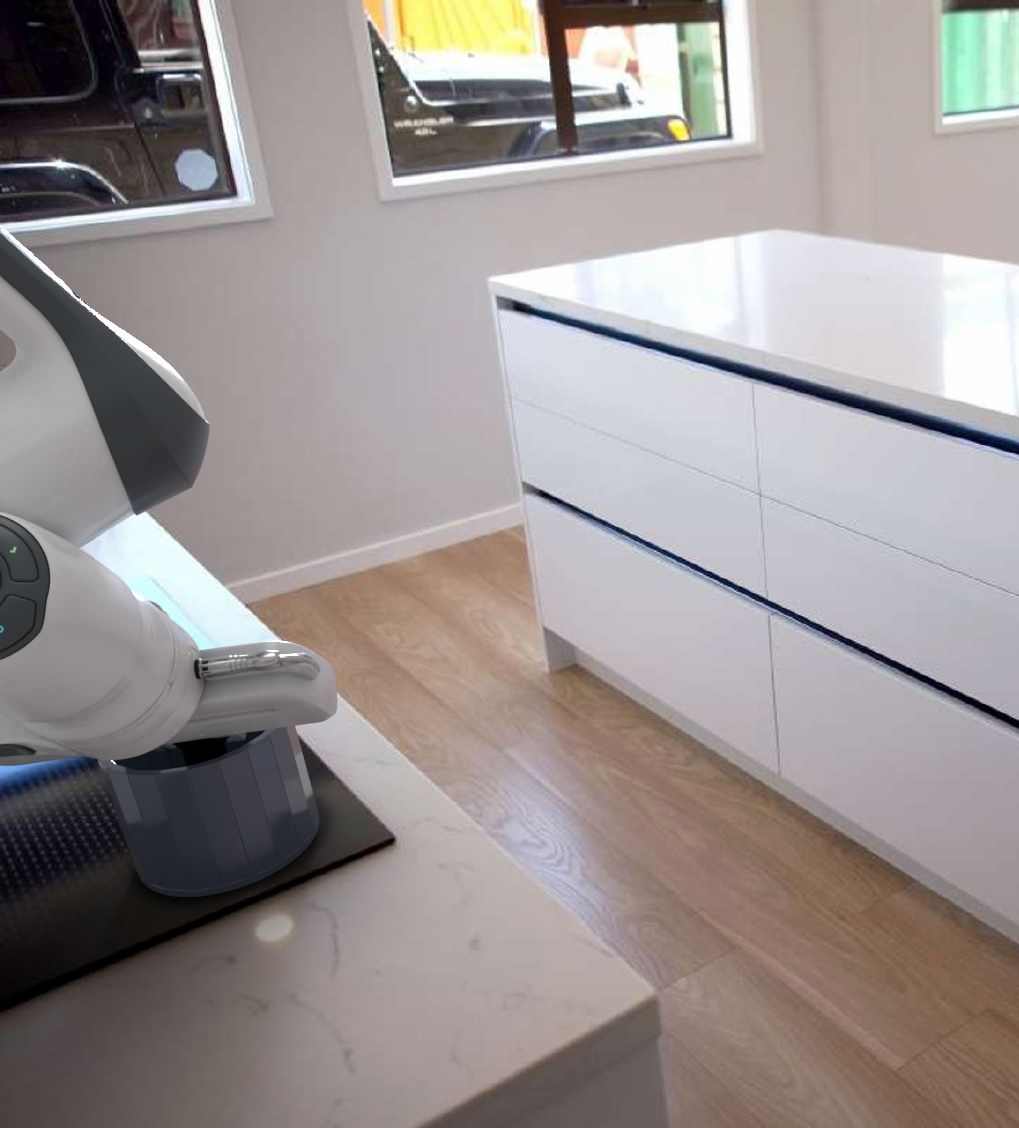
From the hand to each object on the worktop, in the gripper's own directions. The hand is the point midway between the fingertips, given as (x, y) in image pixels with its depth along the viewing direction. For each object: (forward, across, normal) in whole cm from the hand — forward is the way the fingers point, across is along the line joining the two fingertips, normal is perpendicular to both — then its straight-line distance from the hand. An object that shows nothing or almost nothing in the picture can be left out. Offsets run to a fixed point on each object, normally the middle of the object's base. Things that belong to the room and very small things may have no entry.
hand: (203, 734), depth 86 cm
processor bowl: (+6, 0, +6) cm, 8 cm away
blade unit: (+3, 0, +4) cm, 5 cm away
